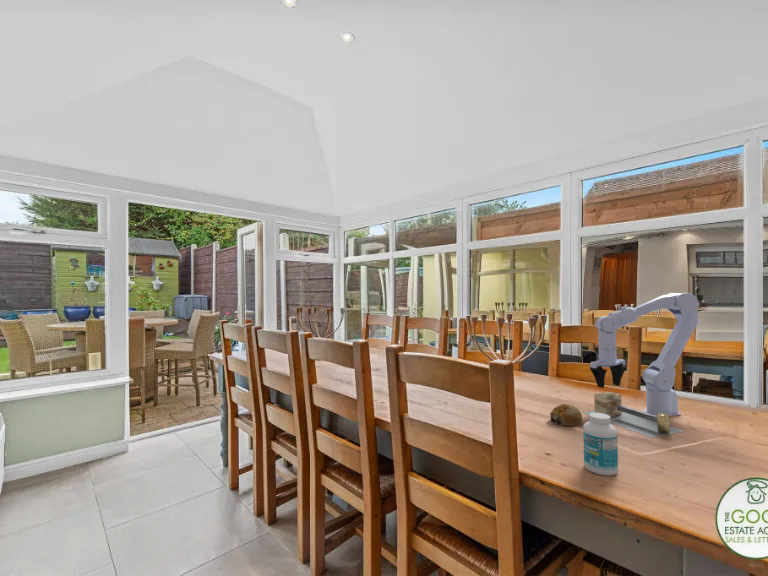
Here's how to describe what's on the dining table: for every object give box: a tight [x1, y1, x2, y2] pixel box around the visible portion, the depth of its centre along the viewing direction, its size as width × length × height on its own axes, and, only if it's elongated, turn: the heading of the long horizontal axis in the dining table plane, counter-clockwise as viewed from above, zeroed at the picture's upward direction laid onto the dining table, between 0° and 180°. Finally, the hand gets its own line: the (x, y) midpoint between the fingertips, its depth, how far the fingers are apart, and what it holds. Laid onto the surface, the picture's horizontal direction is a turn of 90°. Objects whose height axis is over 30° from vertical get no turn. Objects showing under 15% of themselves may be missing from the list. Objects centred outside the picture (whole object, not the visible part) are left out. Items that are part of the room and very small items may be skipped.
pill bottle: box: [582, 413, 619, 476], centre depth 95 cm, size 8×7×14 cm
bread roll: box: [549, 403, 584, 428], centre depth 129 cm, size 10×10×8 cm
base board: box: [580, 409, 686, 439], centre depth 127 cm, size 14×26×1 cm, turn 19°
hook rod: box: [617, 405, 670, 433], centre depth 123 cm, size 3×16×5 cm, turn 18°
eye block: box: [593, 391, 623, 416], centre depth 135 cm, size 8×4×7 cm, turn 109°
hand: (608, 386), depth 139 cm, fingers open, 7 cm apart
